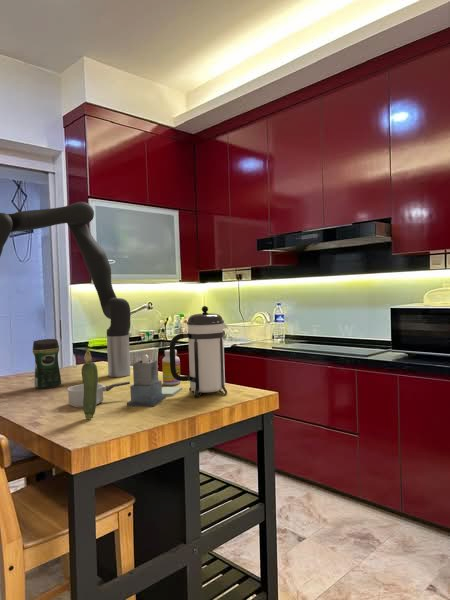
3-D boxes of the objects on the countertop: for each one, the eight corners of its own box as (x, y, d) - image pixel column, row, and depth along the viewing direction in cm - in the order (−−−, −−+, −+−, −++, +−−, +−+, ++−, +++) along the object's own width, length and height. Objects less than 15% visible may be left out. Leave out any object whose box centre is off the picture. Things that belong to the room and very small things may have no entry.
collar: (141, 381, 145) (140, 360, 145) (158, 381, 143) (157, 360, 143) (133, 385, 139) (132, 363, 139) (151, 385, 138) (150, 363, 137)
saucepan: (134, 401, 142) (133, 384, 142) (69, 411, 134) (68, 392, 134) (126, 394, 153) (125, 378, 152) (65, 402, 144) (65, 386, 144)
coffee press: (201, 386, 161) (198, 305, 161) (238, 390, 152) (234, 304, 151) (169, 396, 147) (166, 307, 146) (207, 402, 138) (204, 307, 137)
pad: (155, 388, 160) (155, 386, 160) (181, 389, 158) (181, 387, 158) (145, 395, 150) (145, 393, 150) (172, 396, 148) (172, 393, 148)
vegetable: (85, 416, 127) (82, 347, 126) (100, 415, 127) (98, 347, 127) (81, 421, 122) (78, 349, 122) (97, 420, 123) (94, 349, 122)
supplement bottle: (173, 386, 163) (172, 351, 163) (159, 384, 167) (158, 351, 166) (183, 382, 169) (182, 349, 169) (170, 381, 172) (168, 348, 172)
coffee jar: (59, 383, 176) (57, 337, 176) (62, 386, 169) (60, 338, 169) (33, 386, 171) (30, 339, 171) (35, 390, 164) (33, 341, 164)
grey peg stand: (140, 397, 148) (139, 353, 147) (166, 397, 146) (164, 352, 145) (126, 406, 137) (124, 358, 136) (153, 406, 135) (151, 358, 135)
